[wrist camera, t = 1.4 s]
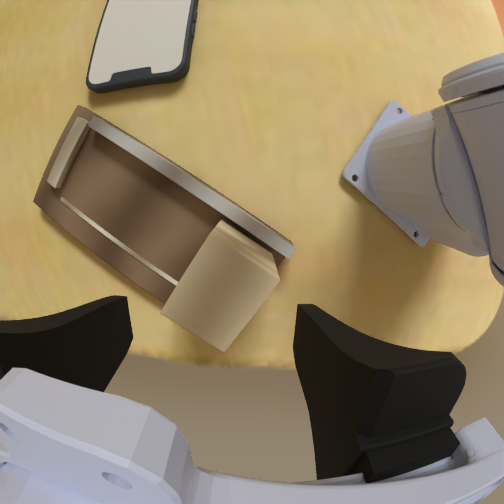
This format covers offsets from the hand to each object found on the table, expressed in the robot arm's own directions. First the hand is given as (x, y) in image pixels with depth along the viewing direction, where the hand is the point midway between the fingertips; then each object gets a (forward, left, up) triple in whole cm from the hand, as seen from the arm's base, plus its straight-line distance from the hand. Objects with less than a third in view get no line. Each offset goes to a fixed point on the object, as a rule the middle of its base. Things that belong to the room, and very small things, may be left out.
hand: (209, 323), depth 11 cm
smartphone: (+18, -14, -10) cm, 25 cm away
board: (+7, +1, -10) cm, 12 cm away
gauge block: (0, 0, -9) cm, 9 cm away
